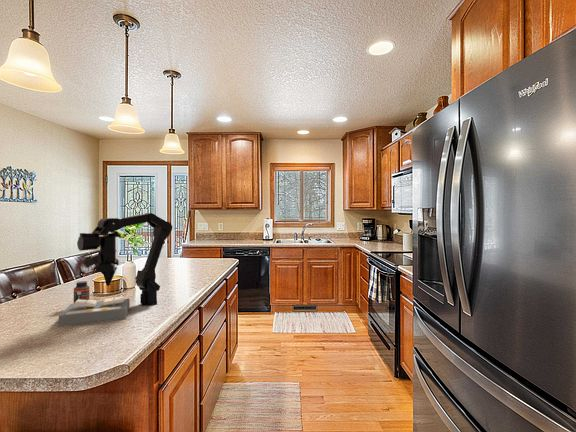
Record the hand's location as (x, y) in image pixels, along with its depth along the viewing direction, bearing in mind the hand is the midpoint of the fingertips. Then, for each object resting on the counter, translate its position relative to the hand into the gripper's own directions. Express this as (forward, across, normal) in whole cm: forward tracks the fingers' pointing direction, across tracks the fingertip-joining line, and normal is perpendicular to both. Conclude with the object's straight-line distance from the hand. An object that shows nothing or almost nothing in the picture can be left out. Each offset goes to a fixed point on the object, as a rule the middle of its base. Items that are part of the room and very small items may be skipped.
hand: (108, 285), depth 128 cm
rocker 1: (+6, +2, -8) cm, 10 cm away
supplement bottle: (+12, -16, -12) cm, 23 cm away
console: (+12, +2, -4) cm, 13 cm away
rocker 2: (+6, +2, +2) cm, 7 cm away
